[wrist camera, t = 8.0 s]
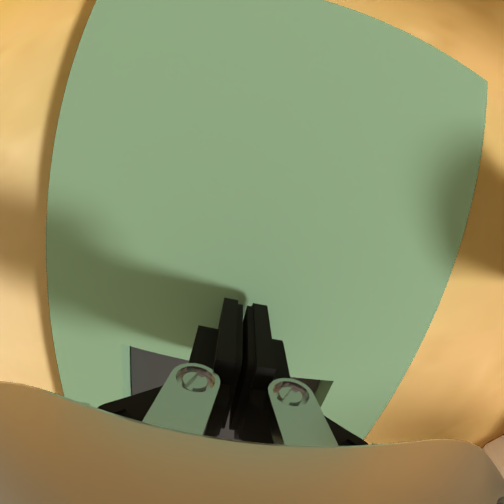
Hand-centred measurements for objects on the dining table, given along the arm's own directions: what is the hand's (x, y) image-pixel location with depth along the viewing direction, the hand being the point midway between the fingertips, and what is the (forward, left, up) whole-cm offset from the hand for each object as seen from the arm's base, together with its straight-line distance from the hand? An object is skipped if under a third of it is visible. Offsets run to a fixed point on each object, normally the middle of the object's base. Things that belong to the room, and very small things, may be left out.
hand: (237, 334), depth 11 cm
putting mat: (0, 0, -2) cm, 2 cm away
